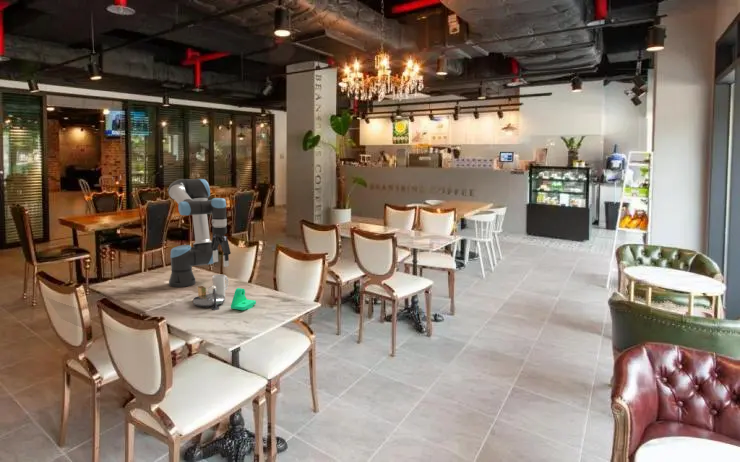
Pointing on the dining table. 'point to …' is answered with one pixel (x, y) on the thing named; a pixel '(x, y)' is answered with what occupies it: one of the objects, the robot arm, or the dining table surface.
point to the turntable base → (207, 306)
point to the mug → (220, 283)
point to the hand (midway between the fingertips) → (220, 264)
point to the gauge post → (212, 291)
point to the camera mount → (241, 300)
